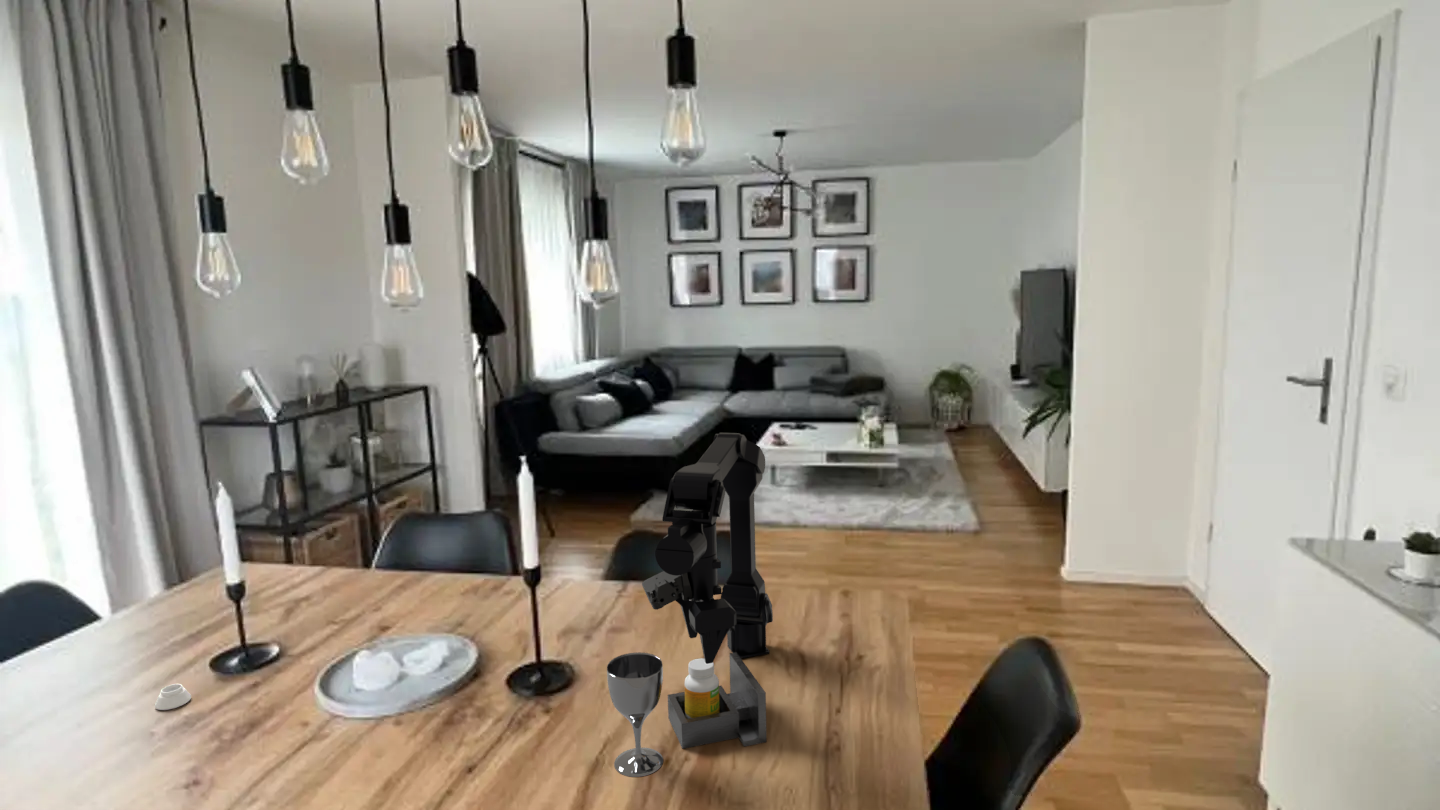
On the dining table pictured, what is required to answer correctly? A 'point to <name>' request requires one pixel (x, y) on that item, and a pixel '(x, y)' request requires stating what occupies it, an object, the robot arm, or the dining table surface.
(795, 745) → the dining table surface
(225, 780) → the dining table surface
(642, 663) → the wine glass
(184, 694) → the white upside-down bowl
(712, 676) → the supplement bottle
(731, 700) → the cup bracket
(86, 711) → the dining table surface
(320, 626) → the dining table surface
